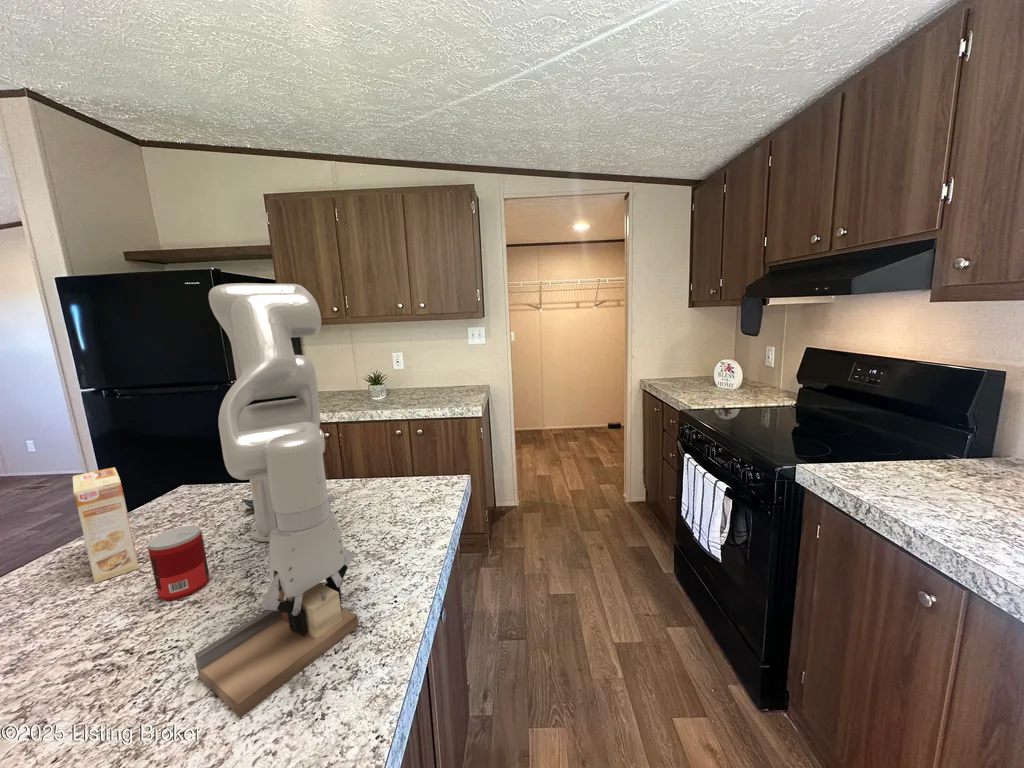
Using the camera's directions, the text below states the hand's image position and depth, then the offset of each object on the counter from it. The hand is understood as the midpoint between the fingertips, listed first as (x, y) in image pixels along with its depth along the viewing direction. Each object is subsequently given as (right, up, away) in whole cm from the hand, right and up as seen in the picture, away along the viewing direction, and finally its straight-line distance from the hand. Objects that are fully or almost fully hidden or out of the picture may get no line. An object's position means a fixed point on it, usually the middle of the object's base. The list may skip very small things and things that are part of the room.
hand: (317, 618), depth 66 cm
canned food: (-32, -2, +14) cm, 35 cm away
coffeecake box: (-56, -2, +24) cm, 61 cm away
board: (-4, -3, -3) cm, 6 cm away
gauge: (-1, -1, +1) cm, 2 cm away
